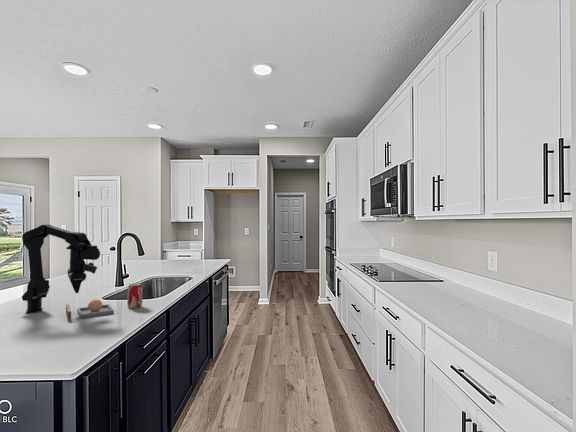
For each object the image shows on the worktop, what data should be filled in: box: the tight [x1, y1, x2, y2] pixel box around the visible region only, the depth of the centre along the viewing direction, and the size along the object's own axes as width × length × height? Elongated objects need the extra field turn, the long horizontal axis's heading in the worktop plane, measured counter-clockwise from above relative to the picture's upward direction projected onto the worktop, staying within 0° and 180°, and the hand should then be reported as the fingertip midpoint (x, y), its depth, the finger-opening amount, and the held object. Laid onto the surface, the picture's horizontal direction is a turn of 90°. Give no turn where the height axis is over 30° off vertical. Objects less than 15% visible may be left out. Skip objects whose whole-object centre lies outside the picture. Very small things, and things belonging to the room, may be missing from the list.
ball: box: [87, 298, 103, 312], centre depth 165 cm, size 6×6×6 cm
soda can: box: [127, 282, 143, 309], centre depth 175 cm, size 7×7×12 cm
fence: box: [65, 304, 72, 322], centre depth 158 cm, size 16×1×4 cm, turn 36°
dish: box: [76, 303, 115, 320], centre depth 165 cm, size 14×14×2 cm
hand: (76, 291), depth 163 cm, fingers open, 9 cm apart
